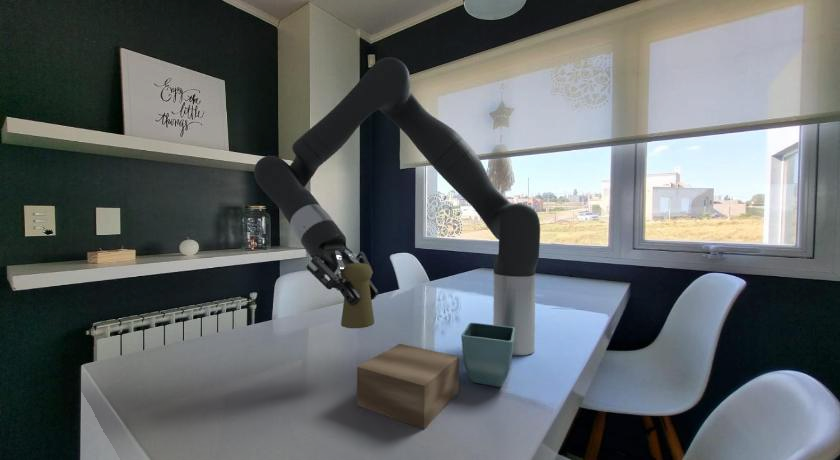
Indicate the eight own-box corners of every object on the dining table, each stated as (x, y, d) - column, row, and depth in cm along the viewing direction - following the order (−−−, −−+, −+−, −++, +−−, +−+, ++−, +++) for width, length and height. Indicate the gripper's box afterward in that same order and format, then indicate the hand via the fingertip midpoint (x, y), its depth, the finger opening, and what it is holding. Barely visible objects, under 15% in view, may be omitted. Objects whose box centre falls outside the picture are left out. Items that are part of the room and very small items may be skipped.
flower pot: (515, 373, 63) (515, 326, 63) (512, 395, 55) (512, 341, 54) (469, 366, 66) (469, 321, 66) (460, 386, 57) (460, 335, 57)
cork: (367, 329, 57) (367, 265, 57) (335, 327, 58) (334, 264, 58) (378, 319, 63) (378, 262, 62) (349, 318, 64) (348, 261, 64)
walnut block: (399, 375, 62) (399, 343, 61) (458, 391, 56) (458, 356, 56) (356, 405, 51) (357, 366, 51) (424, 429, 45) (424, 385, 45)
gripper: (297, 218, 58) (350, 293, 52) (352, 219, 70) (400, 280, 64) (277, 247, 60) (326, 322, 54) (334, 243, 73) (378, 304, 67)
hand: (365, 299), depth 59 cm, fingers closed on cork, 4 cm apart
